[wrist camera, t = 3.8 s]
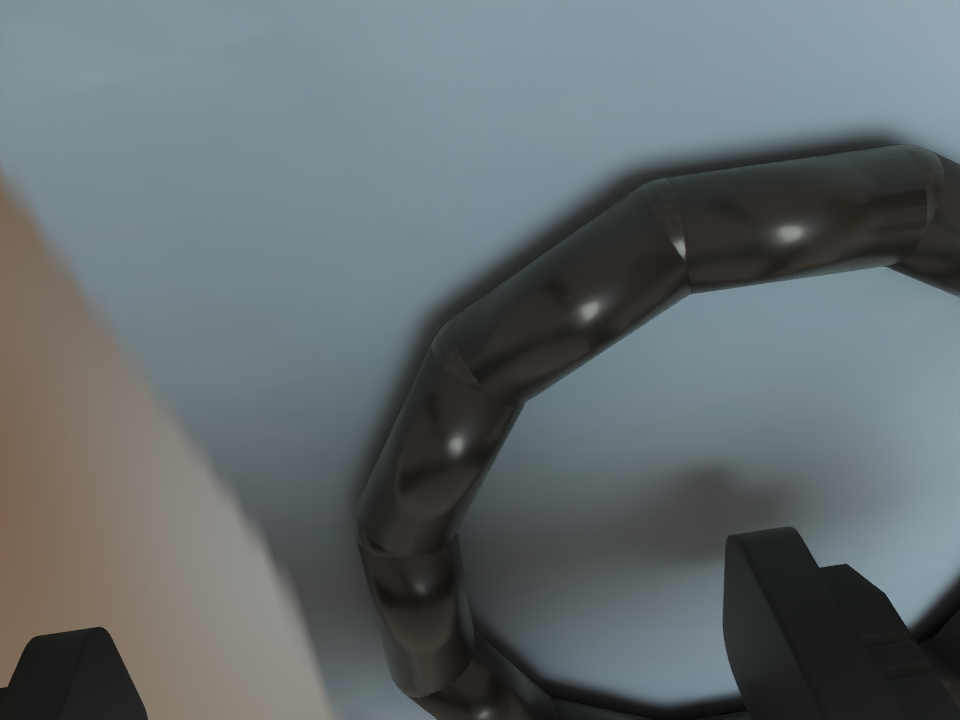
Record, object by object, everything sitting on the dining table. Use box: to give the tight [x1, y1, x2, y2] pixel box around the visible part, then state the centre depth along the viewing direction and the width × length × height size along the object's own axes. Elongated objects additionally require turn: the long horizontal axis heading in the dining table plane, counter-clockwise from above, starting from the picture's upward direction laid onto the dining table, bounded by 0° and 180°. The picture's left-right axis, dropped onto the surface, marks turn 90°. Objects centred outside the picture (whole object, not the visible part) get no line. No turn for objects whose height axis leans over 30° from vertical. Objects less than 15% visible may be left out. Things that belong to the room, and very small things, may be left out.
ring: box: [354, 145, 960, 720], centre depth 11 cm, size 10×10×1 cm
